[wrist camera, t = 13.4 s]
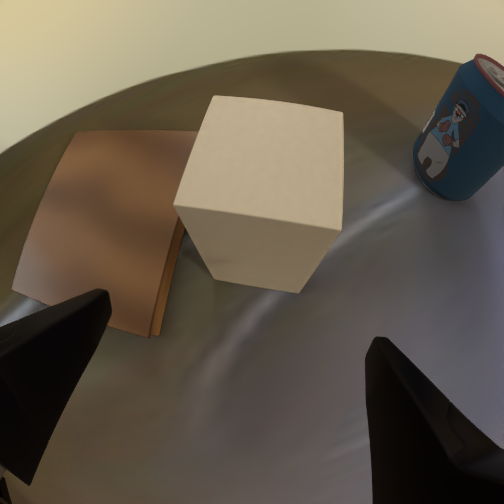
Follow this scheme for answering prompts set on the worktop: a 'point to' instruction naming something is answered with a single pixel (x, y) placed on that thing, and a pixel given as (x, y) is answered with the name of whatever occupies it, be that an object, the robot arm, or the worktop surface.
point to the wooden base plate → (110, 225)
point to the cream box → (264, 190)
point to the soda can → (464, 132)
